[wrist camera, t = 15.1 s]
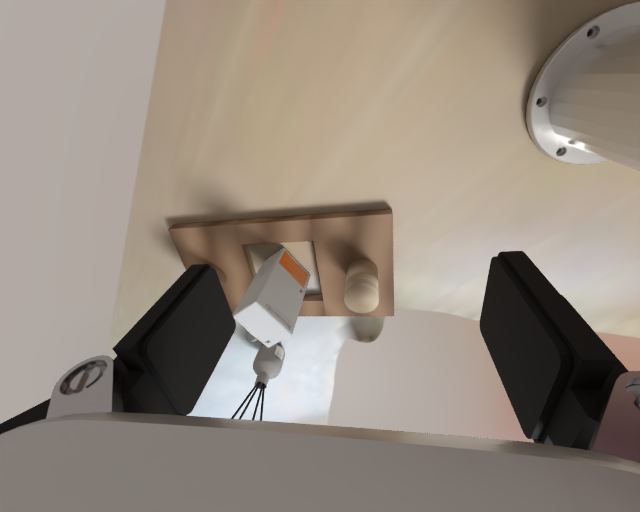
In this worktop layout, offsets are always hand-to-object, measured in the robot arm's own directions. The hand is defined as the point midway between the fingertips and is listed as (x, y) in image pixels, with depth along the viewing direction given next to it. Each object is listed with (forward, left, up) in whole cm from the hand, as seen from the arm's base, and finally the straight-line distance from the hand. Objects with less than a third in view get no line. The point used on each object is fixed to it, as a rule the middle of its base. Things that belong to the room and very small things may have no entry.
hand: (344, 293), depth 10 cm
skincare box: (+12, +16, -26) cm, 33 cm away
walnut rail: (+12, +16, -26) cm, 33 cm away
